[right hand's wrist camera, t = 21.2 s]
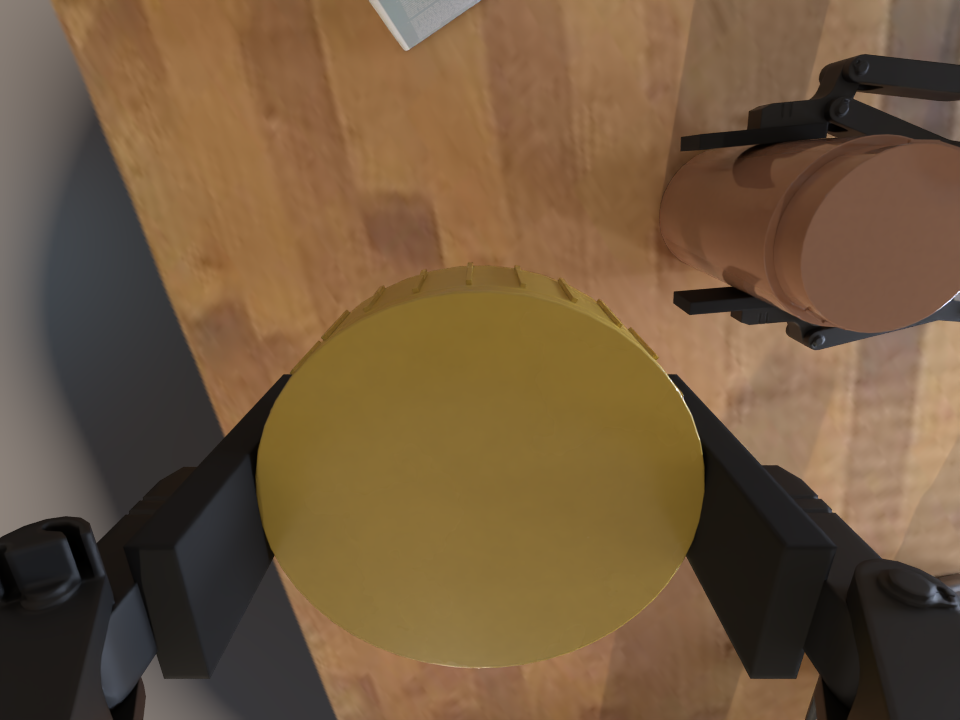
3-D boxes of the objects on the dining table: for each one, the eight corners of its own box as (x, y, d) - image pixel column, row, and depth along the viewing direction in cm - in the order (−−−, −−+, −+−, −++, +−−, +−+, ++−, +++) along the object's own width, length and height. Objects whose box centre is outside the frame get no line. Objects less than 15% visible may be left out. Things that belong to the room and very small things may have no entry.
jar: (765, 270, 37) (963, 343, 22) (651, 268, 37) (770, 340, 22) (791, 147, 34) (1042, 132, 19) (668, 145, 34) (819, 128, 19)
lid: (300, 226, 11) (254, 242, 8) (721, 300, 11) (781, 333, 9) (285, 567, 14) (248, 643, 12) (612, 611, 14) (636, 692, 12)
